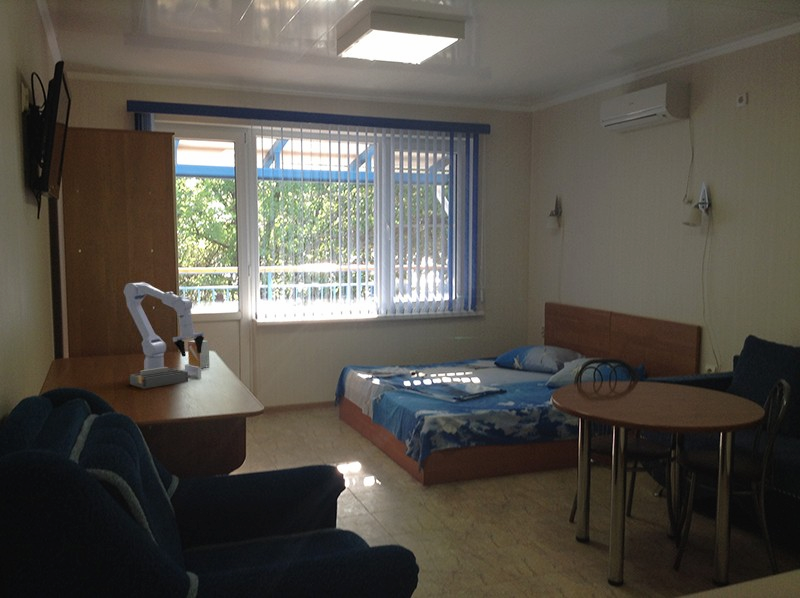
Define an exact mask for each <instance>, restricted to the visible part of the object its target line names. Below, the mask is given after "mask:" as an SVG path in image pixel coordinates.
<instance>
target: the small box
mask: <svg viewBox="0 0 800 598" xmlns="http://www.w3.org/2000/svg"><path fill="white" fill-rule="evenodd" d="M187 350H188V351H187V352H188V353H187V356H188V364H189V365H193V366H197V367H201V368H202V369H204V368H203V367H206V366H210V341H209V340H204V339H203V342H202V347H201V353H198V352H197V347H196V343H195V341H194V339H193V340H188V341H187ZM206 368H207V367H206Z"/></svg>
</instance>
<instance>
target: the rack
mask: <svg viewBox="0 0 800 598" xmlns="http://www.w3.org/2000/svg"><path fill="white" fill-rule="evenodd" d="M186 382H189V376H188V372H186V371H185V370H180V369H177V368H169V366H164V367H162V368H155V369H148V370H144V369H143V370H140V373H134V374H133V373H132V374H129V385H132V386H135V387H138V388H140V389H149V388H156V387H161V386H167V385H174V384H180V383H186Z"/></svg>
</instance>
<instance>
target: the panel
mask: <svg viewBox="0 0 800 598" xmlns="http://www.w3.org/2000/svg"><path fill="white" fill-rule="evenodd" d="M184 371H186V372H188V377H190V376H191V377H192V378H194V377H195V378H194V379H202V369H201V367H197V366H193V365H189V363H187V364H184Z"/></svg>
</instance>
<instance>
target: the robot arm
mask: <svg viewBox="0 0 800 598" xmlns="http://www.w3.org/2000/svg"><path fill="white" fill-rule="evenodd" d="M123 294H124V296H125V300H126V302H125V303H126V307H127V309H128V310H129V313H130V315H131V317H132V319H133V321H134V323H135V326H136V327H137V329H138V331H139V333H140V335H141V337H142V341H141V347H142V352H143V354H144V355H145V358H144V360H143V367H144V368H143V370H148V369H155V368H162V367H165V361H164V355H165V352H166V351H167V344H166V342H165V341H163V340H162V338H161V337H160V336H159V335H158V334H156V333H155V331H154V329H153V328H152V327H153V326H152V325H151V323H150V321H149V319H148V317H147V314H146V313H145V311H144V309H143V307H142V304H141V303H142V301H143V300H144V298H146V296H147V295H149V296H150V297H154V298H157V299H158V300H161V303H162V304H164V305H167V306H169V307H171V308H172V309H174V311H176V314H177V317H178V323H179V328H180V334H181V335H178V336H174V337H172V342H173V343H174V345H175V346H176V347H177V349H178V350H179V353H180V354H181V357H183V358H184V357H186V355H187V354H186V347H185V341H184V340H190V339H193V340H194V341H195V343H196V347H197V352H198V353H201V347H202V342H203V340H204V337H205V332H204V331H200V332H195V328H194V327H195V326H194V321H193V317H192V311H191V310H192V308H193V302H192V301H191V299H190V298H188V297H185V298H183V297H182V296H181V295H177V294H174V291H166V292H164V291H162V290H160V289H159V288H156V287H154V286H152V285H151V284H150V283H146V282H145V281H140V282H129V283H126V284H125V286H124V290H123Z"/></svg>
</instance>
